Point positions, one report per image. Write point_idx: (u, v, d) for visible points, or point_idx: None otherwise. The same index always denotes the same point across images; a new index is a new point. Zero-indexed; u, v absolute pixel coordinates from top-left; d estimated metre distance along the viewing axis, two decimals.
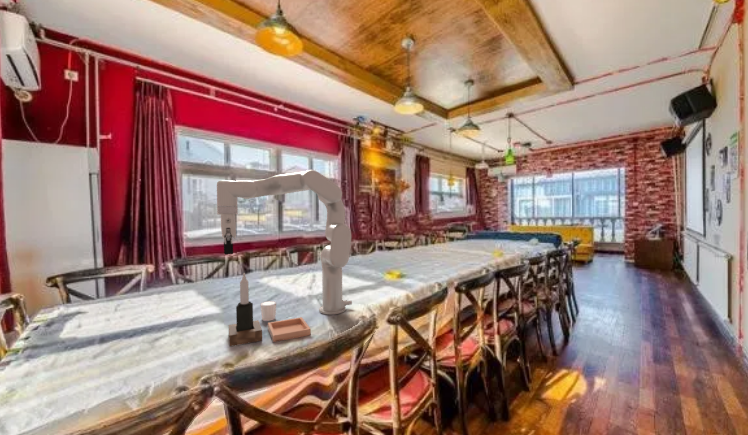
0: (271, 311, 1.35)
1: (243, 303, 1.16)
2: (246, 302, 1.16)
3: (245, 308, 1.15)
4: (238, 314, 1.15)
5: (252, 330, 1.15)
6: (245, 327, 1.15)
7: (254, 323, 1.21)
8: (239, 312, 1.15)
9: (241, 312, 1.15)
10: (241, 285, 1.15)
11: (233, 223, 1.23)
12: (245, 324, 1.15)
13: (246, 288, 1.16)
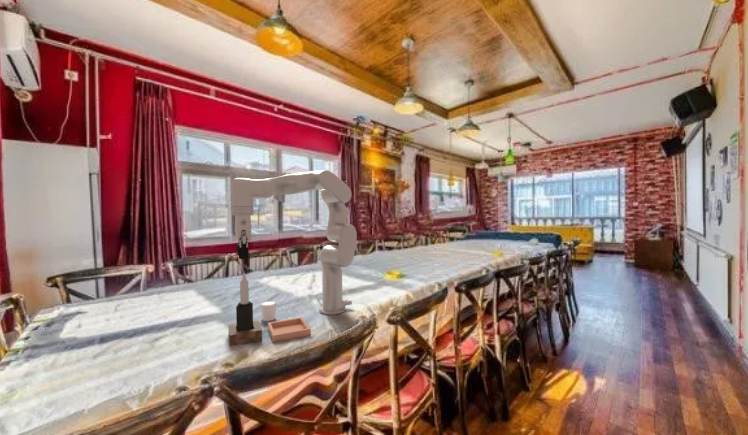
0: (271, 311, 1.35)
1: (243, 303, 1.16)
2: (246, 302, 1.16)
3: (245, 308, 1.15)
4: (238, 314, 1.15)
5: (252, 330, 1.15)
6: (245, 327, 1.15)
7: (254, 323, 1.21)
8: (239, 312, 1.15)
9: (241, 312, 1.15)
10: (241, 285, 1.15)
11: (249, 225, 1.12)
12: (245, 324, 1.15)
13: (246, 288, 1.16)
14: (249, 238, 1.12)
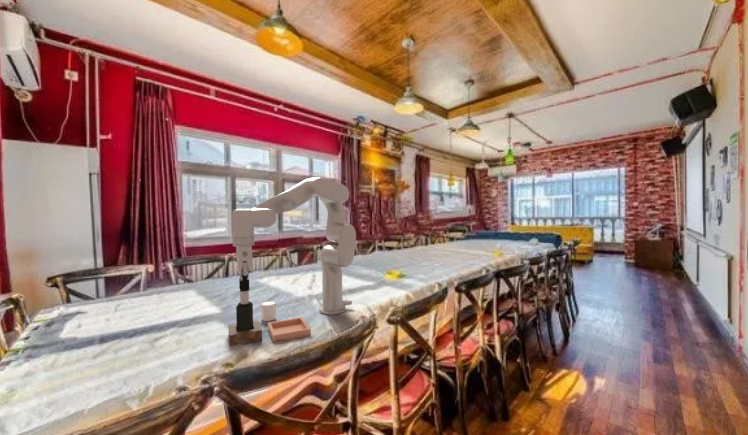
0: (271, 311, 1.35)
1: (243, 303, 1.16)
2: (246, 302, 1.16)
3: (245, 308, 1.15)
4: (238, 314, 1.15)
5: (252, 330, 1.15)
6: (245, 327, 1.15)
7: (254, 323, 1.21)
8: (239, 312, 1.15)
9: (241, 312, 1.15)
10: None
11: (250, 256, 1.13)
12: (245, 324, 1.15)
13: None
14: (250, 269, 1.13)
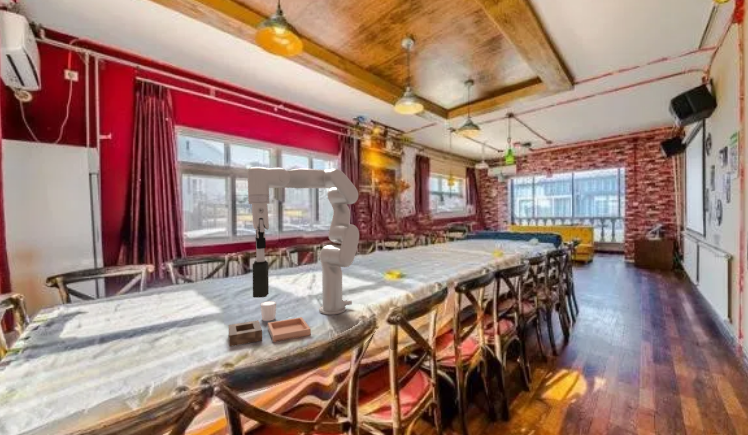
0: (271, 311, 1.35)
1: (259, 261, 1.17)
2: (262, 260, 1.18)
3: (261, 265, 1.16)
4: (254, 271, 1.16)
5: (252, 330, 1.15)
6: (261, 284, 1.17)
7: (254, 323, 1.21)
8: (256, 269, 1.16)
9: (257, 269, 1.16)
10: None
11: (266, 213, 1.14)
12: (261, 281, 1.17)
13: None
14: (267, 226, 1.14)
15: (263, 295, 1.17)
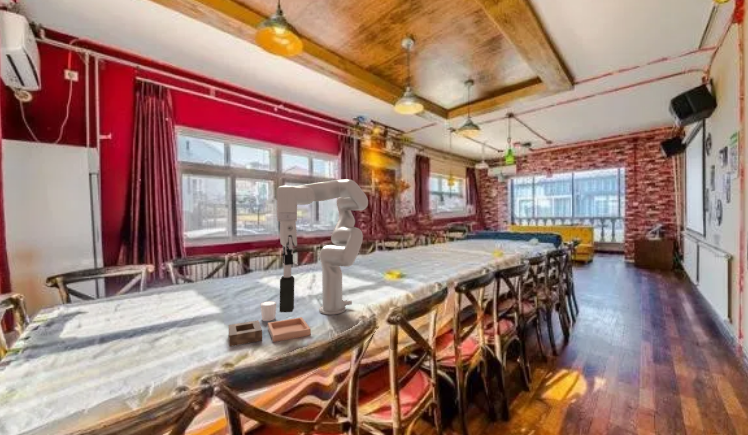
0: (271, 311, 1.35)
1: (286, 276, 1.21)
2: (289, 275, 1.21)
3: (289, 281, 1.20)
4: (282, 287, 1.19)
5: (252, 330, 1.15)
6: (288, 299, 1.20)
7: (254, 323, 1.21)
8: (283, 285, 1.19)
9: (285, 285, 1.19)
10: None
11: (295, 230, 1.18)
12: (288, 296, 1.20)
13: None
14: (295, 243, 1.18)
15: (290, 310, 1.20)
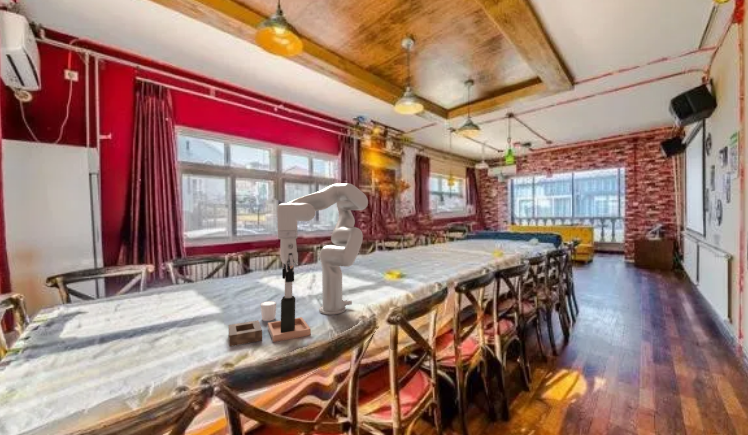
0: (271, 311, 1.35)
1: (288, 297, 1.21)
2: (290, 296, 1.22)
3: (290, 302, 1.20)
4: (283, 307, 1.20)
5: (252, 330, 1.15)
6: (289, 320, 1.20)
7: (254, 323, 1.21)
8: (284, 305, 1.20)
9: (286, 306, 1.20)
10: None
11: (295, 248, 1.18)
12: (289, 317, 1.20)
13: (291, 283, 1.22)
14: (295, 261, 1.18)
15: (291, 330, 1.21)
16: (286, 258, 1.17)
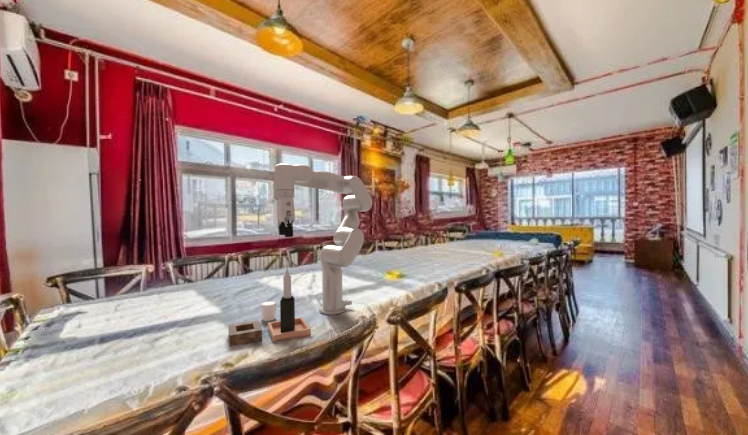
0: (271, 311, 1.35)
1: (287, 297, 1.21)
2: (289, 296, 1.22)
3: (289, 302, 1.20)
4: (282, 308, 1.20)
5: (252, 330, 1.15)
6: (288, 320, 1.20)
7: (254, 323, 1.21)
8: (283, 306, 1.20)
9: (285, 306, 1.20)
10: (285, 280, 1.21)
11: (293, 206, 1.24)
12: (289, 317, 1.20)
13: (289, 283, 1.22)
14: (293, 218, 1.24)
15: (291, 330, 1.21)
16: (284, 213, 1.22)
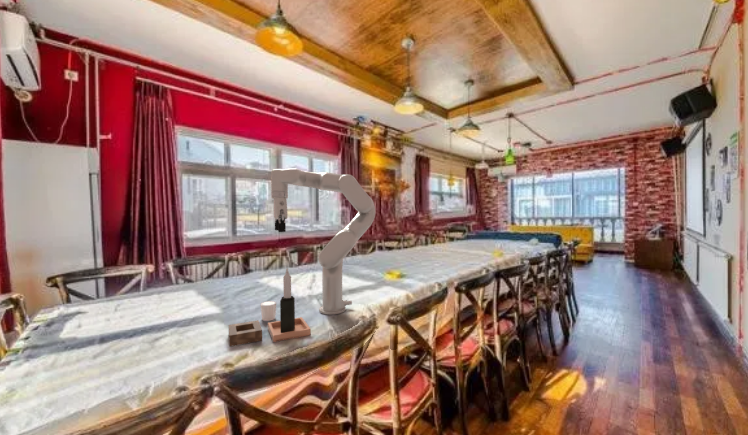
0: (271, 311, 1.35)
1: (287, 297, 1.21)
2: (289, 296, 1.22)
3: (289, 302, 1.20)
4: (282, 308, 1.20)
5: (252, 330, 1.15)
6: (288, 320, 1.20)
7: (254, 323, 1.21)
8: (283, 306, 1.20)
9: (285, 306, 1.20)
10: (285, 280, 1.21)
11: (285, 205, 1.44)
12: (289, 317, 1.20)
13: (289, 283, 1.22)
14: (286, 216, 1.44)
15: (291, 330, 1.21)
16: (278, 211, 1.42)
